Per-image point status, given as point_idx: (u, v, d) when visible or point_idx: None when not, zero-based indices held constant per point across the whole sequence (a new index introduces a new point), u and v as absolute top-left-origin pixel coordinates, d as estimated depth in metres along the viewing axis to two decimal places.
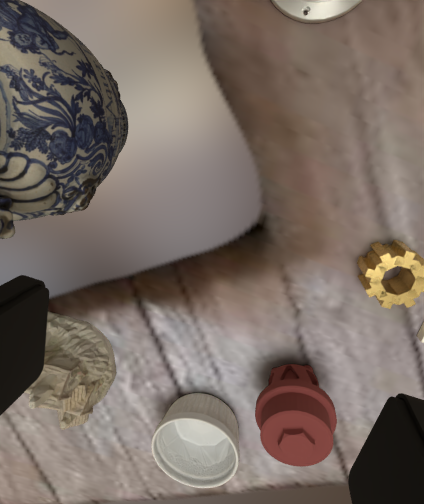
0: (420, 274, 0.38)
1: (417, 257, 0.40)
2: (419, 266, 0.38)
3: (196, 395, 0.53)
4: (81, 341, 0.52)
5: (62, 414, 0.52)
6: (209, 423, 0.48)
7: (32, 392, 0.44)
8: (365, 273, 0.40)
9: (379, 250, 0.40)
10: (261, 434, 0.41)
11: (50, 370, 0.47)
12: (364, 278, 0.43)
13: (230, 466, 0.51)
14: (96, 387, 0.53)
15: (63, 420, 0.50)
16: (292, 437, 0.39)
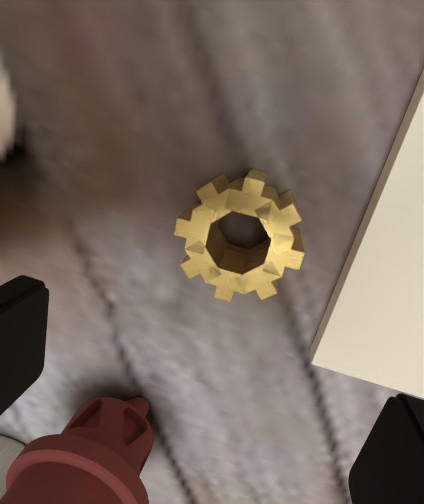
0: (279, 229, 0.18)
1: (285, 198, 0.20)
2: (275, 211, 0.18)
3: None
4: None
5: None
6: None
7: None
8: None
9: None
10: None
11: None
12: None
13: None
14: None
15: None
16: None
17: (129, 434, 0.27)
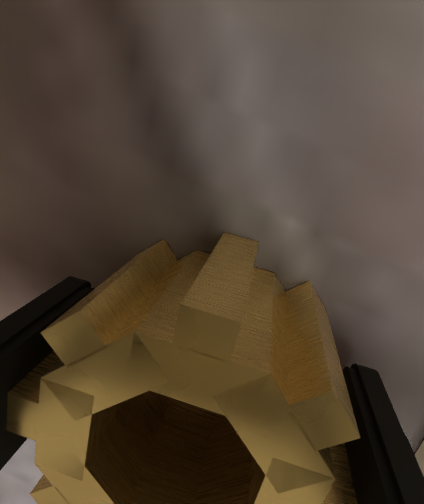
0: (289, 451, 0.06)
1: (303, 323, 0.08)
2: (277, 405, 0.06)
3: None
4: None
5: None
6: None
7: None
8: None
9: (103, 284, 0.08)
10: None
11: None
12: None
13: None
14: None
15: None
16: None
17: None
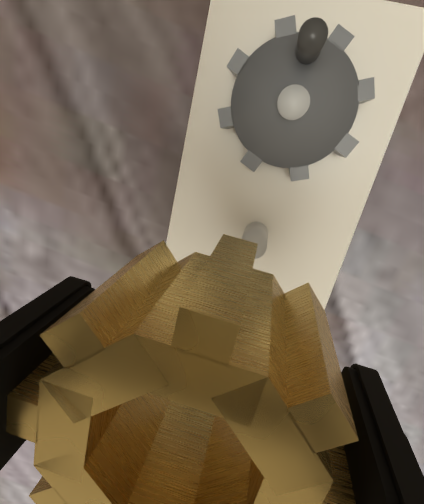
0: (287, 454, 0.06)
1: (302, 325, 0.08)
2: (275, 408, 0.06)
3: None
4: None
5: None
6: None
7: None
8: None
9: (102, 286, 0.08)
10: None
11: None
12: None
13: None
14: None
15: None
16: None
17: None
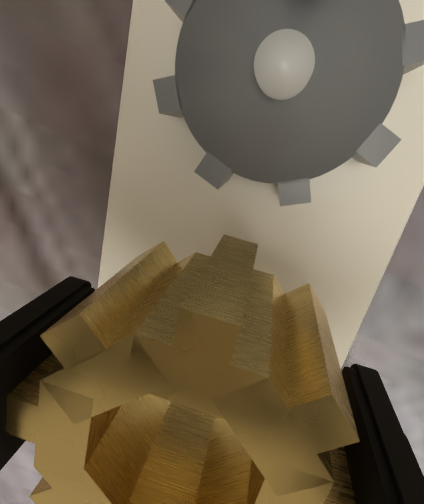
0: (288, 455, 0.06)
1: (303, 325, 0.08)
2: (276, 409, 0.06)
3: None
4: None
5: None
6: None
7: None
8: None
9: (103, 287, 0.08)
10: None
11: None
12: None
13: None
14: None
15: None
16: None
17: None
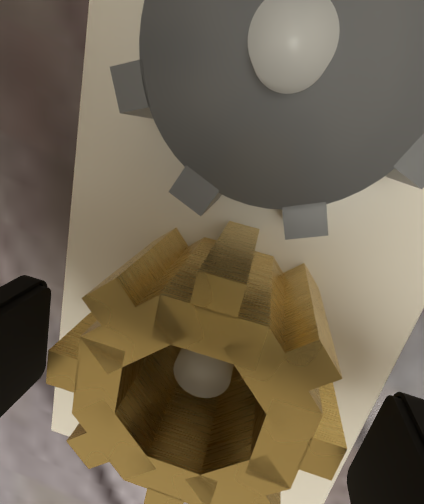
0: (285, 393, 0.07)
1: (298, 295, 0.09)
2: (275, 354, 0.07)
3: None
4: None
5: None
6: None
7: None
8: None
9: (128, 263, 0.09)
10: None
11: None
12: None
13: None
14: None
15: None
16: None
17: None
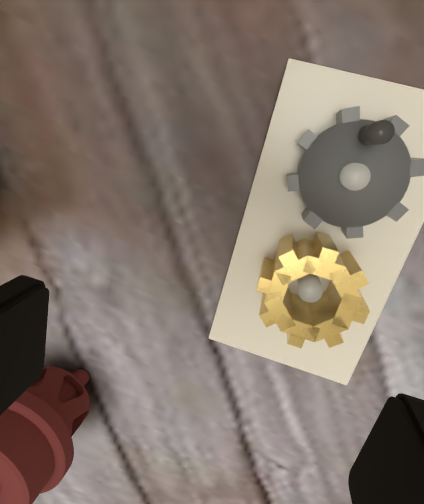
0: (349, 290, 0.21)
1: (350, 260, 0.23)
2: (346, 275, 0.21)
3: None
4: None
5: None
6: None
7: None
8: (257, 285, 0.23)
9: (284, 246, 0.23)
10: None
11: None
12: None
13: None
14: None
15: None
16: None
17: (67, 396, 0.33)
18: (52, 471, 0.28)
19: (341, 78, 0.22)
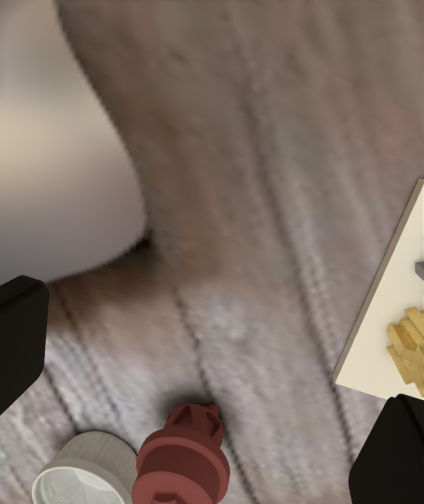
0: None
1: None
2: None
3: (91, 435, 0.46)
4: None
5: None
6: (92, 473, 0.40)
7: None
8: (401, 354, 0.30)
9: (419, 323, 0.30)
10: (132, 497, 0.34)
11: None
12: (396, 353, 0.33)
13: None
14: None
15: None
16: None
17: (210, 429, 0.40)
18: (217, 493, 0.35)
19: None
